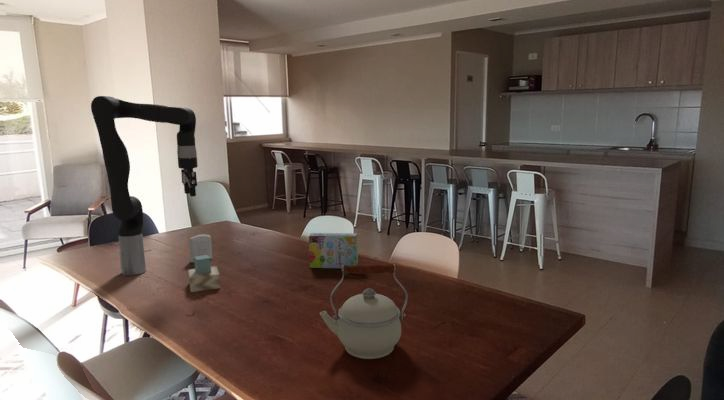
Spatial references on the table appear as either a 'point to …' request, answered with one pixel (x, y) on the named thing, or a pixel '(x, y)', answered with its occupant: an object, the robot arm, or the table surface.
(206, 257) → the teal block
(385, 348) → the kettle
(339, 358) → the table surface
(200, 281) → the birch block
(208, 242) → the photo printer
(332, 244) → the snack box
